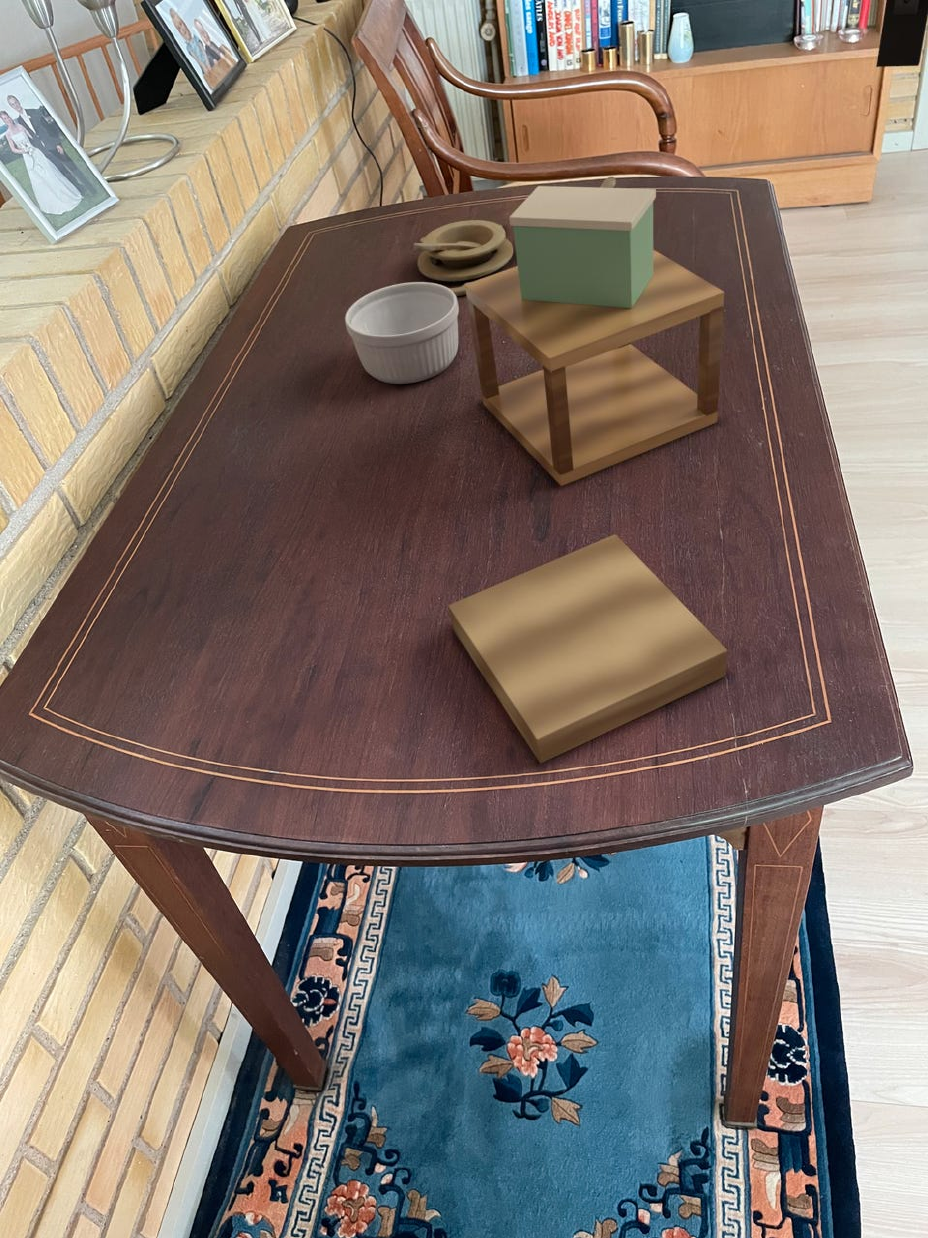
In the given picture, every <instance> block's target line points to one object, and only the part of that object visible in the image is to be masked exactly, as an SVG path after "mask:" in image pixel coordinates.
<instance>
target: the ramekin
mask: <svg viewBox="0 0 928 1238" xmlns="http://www.w3.org/2000/svg"><path fill="white" fill-rule="evenodd" d="M459 307H460V306H459V301H458V296H456V295H455V294H454V292H453V291H452V290H450V288H449V287H447V286H445V285H442V284H438V283H434V282H426V281H413V282H404V283H403V282H402V283H397V284H393V285H388V286H385V287H381V288H379V289H376V290H373V291H371V292H369V293H368V294H365V295H364V296H362V297H360V298H359V299H358V300H356V301H355V302H354V303H352V305H351V306H349V308H348V309H347V311H346V313H345V317H344V322H345V327H346V330H347V333H348V335H349V336H350V338H351V340H352V342H353V344H354V348H355V350H356V353H357V355H358V358H359V360H360V363H361V365H362V367H363V368H364V370H365V371H366V372H367V373H368V374H369V375H370V376H371V377H373V378H374V379H376V380H378V381H379V382H382V383H386V384H391V385H392V384H394V385H405V384H414V383H419V382H423V381H426V380H429V379H431V378H433V377H436V376H437V375H439V374H441V373H442V372H444V371H445V370H446V369H447V368H448V367H449V366H450V365H451V364H452V362H453V361H454V359H455V357H456V356H457V354H458V349H459V321H458V316H459V312H460V309H459Z"/></svg>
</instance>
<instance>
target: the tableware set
mask: <svg viewBox="0 0 928 1238" xmlns="http://www.w3.org/2000/svg"><path fill="white" fill-rule="evenodd" d="M616 179H617V178H616V177H614V176H607V177H606V178H605V179H604V180H603V182H602V183H601V185H600V186H599V188H615V187H616V185H617V180H616ZM419 241H420V242H414V243H413V246H412V249H413V250H416V251H421V253H420V255H419V256H418V258H417V268H418V270H419V272H420V273H421V274H422V275H424V276H425V277H427V278H429V279H432V280H435V281H440V282H462V281H463V282H464V281H468V280H474V279H478V278H482V277H484V276H485V277H486V276H488V275H491V274H493V273H494V272H497V271H498V270H500V269H502V268H503V267H504V266H505V265H506V264H508V263H509V261H510V260H511V259H512V258H513V255H514V246H513V244H512V242H511V241H510V240H509V239H508V238H506V231H505V229H504V228H503V225H502V224H498V223H496V222H493V221H489V220H483V219H482V220H481V219H470V220H469V219H468V220H460V221H455V222H451V223H447V224H445V225H442V226H440V227H437V228H436V229H433V230H432V231H430V232H429V233H428V234H427V235H425V236H423V237H421V239H420V240H419ZM471 282H472V281H470V282H466V283H464V284H463V285H462V286H459V287H451V288H449V289H450V290H452V291H453V292H454V294H455V295H456V297H459V296H460V297H461V296H465V295H466V289H465V284H468V283H471ZM466 296H467V295H466Z"/></svg>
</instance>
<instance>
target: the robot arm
mask: <svg viewBox="0 0 928 1238" xmlns="http://www.w3.org/2000/svg"><path fill="white" fill-rule="evenodd" d="M927 23H928V0H885V6H884V11H883V20H882V26H881V31H880V32H881V33H880V40H879V45H878V51H877V52H878V53H877V60H876V66H875V67H876V68H882V67H883V68H884V67H885V68H886V67H890V68H891V67H919V65H920V63H921V58H922V52H923V47H924V41H925V35H926V29H927V25H928V24H927Z"/></svg>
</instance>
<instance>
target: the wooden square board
mask: <svg viewBox="0 0 928 1238" xmlns="http://www.w3.org/2000/svg"><path fill="white" fill-rule="evenodd" d="M447 608H448V612H449V617H450V621H451V626H452V630H453V631H454V634H455V635H456V636H457V638H458V639H459V641H460V643H461V644H462V646H463V648H464V649H465V650H466V652H467V653H468V655H469V656H470V658H471V659H472V661H473V662H474V664H475V665H476V667H477V669H478V670H479V672H480V673H481V674H482V676H483V677H484V679H485V681H486V683H487V684H488V686H489V687H490V689H491V690H492V692H493V693H494V694H495V697H496V698H497V699H498V701H499V702H500V704H501V705H502V707H503V708H504V710H505V712H506V713H507V715H508V716H509V717H510V719H511V721H512V722H513V724H514V725H515V727H516V728H517V730H518V732H519V733H520V735H521V736H522V737H523V739H524V740H525V742H526V744H527V745H528V747H529V748H530V750H531V752H532V753H533V754H534V756H535V757H536V759H537V761H538V762H539V763H540V764H543V763H546V762H548V761H549V760H551V759H553V758H555V757H558V756H560V755H562V754H565V753H566V752H568V751H570V750H573V749H575V748H577V747H579V746H581V745H583V744H585V743H587V742H589V741H591V740H593V739H596V738H598V737H601V736H602V735H604V734H606V733H608V732H611V731H612V730H615V729H617V728H619V727H622V726H623V725H626V724H627V723H629V722H632V721H633V720H636V719H638V718H640V717H642V716H644V715H646V714H648V713H651V712H652V711H655V710H657V709H659V708H662V707H663V706H665V705H668V704H669V703H672V702H674V701H676V700H678V699H680V698H682V697H684V696H686V695H689V694H691V693H693V692H695V691H698V690H699V689H701V688H703V687H705V686H708V685H709V684H711V683H713V682H716V681H718V680H720V679H722V678H725V677H726V671H727V670H726V669H727V658H728V657H727V656H728V650H727V649H726V648H725V646H724V645H723V644H722V643H721V642H719V640H718V639H717V638H716V637H715V636H714V635H713V634H712V633H711V632H710V631H709V630H708V629H707V628H706V626H704V624H703V623H702V622H701V621H700V620H699V619H697V617H696V616H695V615H694V614H693V613H692V612H691V611H690V610H689V609H688V608H687V607H686V606H685V605H684V604H683V603H682V602H681V601H680V600H679V599H678V598H677V596H676V595H675V594H674V593H673V592H672V591H671V590H670V589H669V588H668V587H667V586H666V585H665V584H664V583H663V582H662V580H660V579H659V578H658V577H657V576H656V575H655V573H654V572H653V571H652V570H651V569H650V568H649V567H648V566H647V565H646V564H645V563H644V562H643V561H642V560H641V559H640V558H639V557H638V556H637V555H636V554H635V552H633V551H632V549H630V548H629V546H628V545H626V543H625V542H624V541H623V540H622V539H621V538H620V537H619V536H618V535H617V534H616V533H614V534H612V535H610V536H607V537H605V538H602V539H600V540H598V541H596V542H593V543H590V544H589V545H586V546H584V547H582V548H579V549H577V550H574V551H572V552H569V553H568V554H565V555H563V556H561V557H558V558H556V559H553V560H551V561H549V562H547V563H543V564H542V565H540V566H537V567H535V568H532V569H530V570H528V571H524V572H523V573H521V574H518V575H516V576H514V577H511V578H509V579H507V580H504V581H502V582H499V583H498V584H495V585H492V586H491V587H488V588H485V589H483V590H481V591H478V592H476V593H474V594H471V595H468V596H466V597H465V598H462V599H459V600H458V601H455V602H453V603H450V604H449V605H447Z"/></svg>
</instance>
